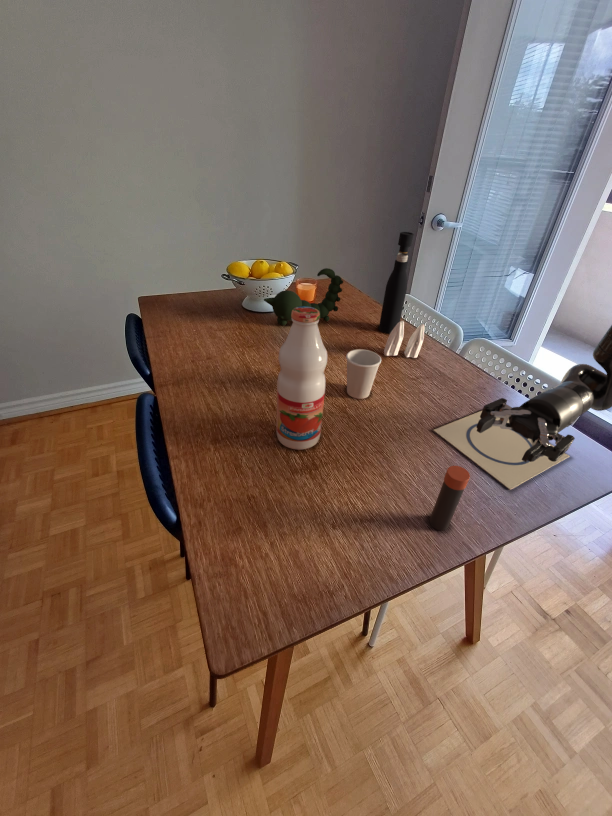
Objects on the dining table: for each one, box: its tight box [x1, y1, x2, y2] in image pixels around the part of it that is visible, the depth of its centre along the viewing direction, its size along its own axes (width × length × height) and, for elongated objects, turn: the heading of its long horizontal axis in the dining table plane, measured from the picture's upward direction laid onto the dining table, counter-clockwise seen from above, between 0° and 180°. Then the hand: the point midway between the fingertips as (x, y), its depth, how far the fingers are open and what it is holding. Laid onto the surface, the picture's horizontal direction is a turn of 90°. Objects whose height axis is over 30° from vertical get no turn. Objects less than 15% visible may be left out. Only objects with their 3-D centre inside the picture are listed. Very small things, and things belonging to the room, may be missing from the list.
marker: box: [429, 465, 471, 532], centre depth 64 cm, size 3×3×12 cm
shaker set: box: [383, 320, 425, 359], centre depth 114 cm, size 12×4×11 cm, turn 103°
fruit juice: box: [275, 306, 329, 450], centre depth 76 cm, size 9×9×28 cm
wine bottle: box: [378, 231, 414, 335], centre depth 123 cm, size 6×6×30 cm
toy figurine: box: [263, 267, 344, 327], centre depth 127 cm, size 9×19×25 cm
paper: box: [432, 410, 570, 491], centre depth 86 cm, size 20×20×1 cm
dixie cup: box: [345, 348, 382, 400], centre depth 97 cm, size 8×8×10 cm
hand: (501, 442), depth 66 cm, fingers open, 8 cm apart
